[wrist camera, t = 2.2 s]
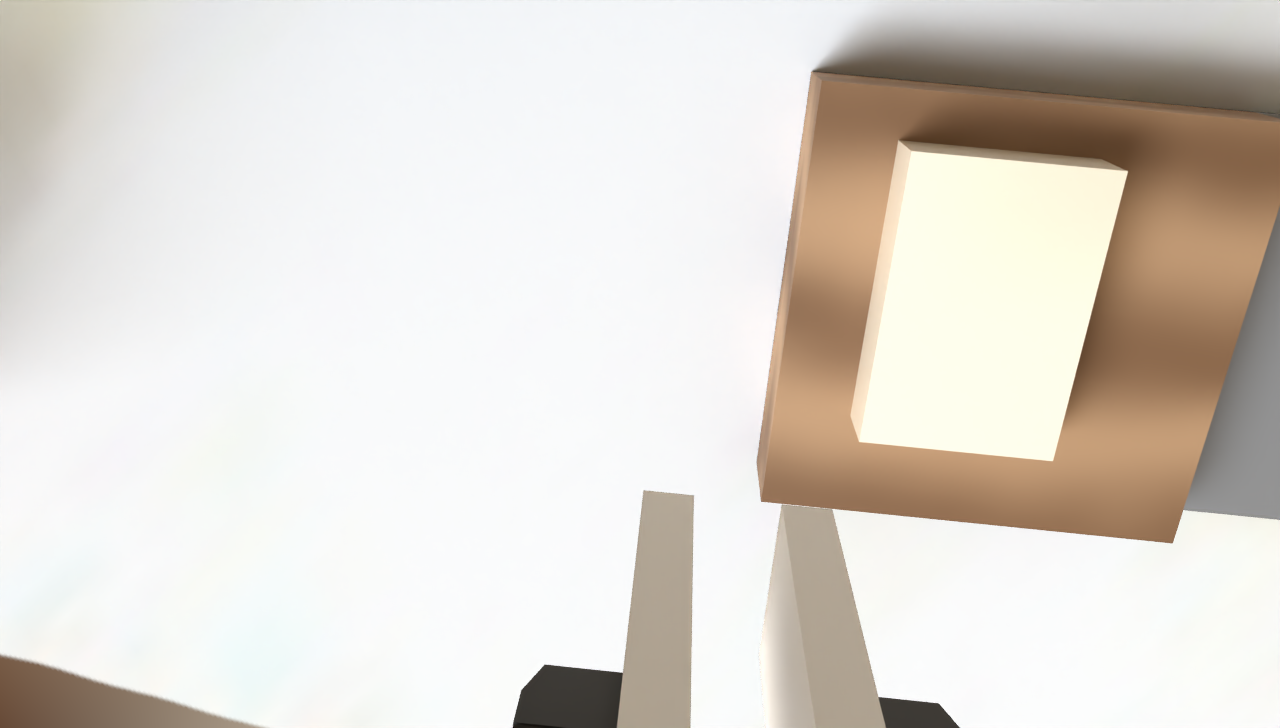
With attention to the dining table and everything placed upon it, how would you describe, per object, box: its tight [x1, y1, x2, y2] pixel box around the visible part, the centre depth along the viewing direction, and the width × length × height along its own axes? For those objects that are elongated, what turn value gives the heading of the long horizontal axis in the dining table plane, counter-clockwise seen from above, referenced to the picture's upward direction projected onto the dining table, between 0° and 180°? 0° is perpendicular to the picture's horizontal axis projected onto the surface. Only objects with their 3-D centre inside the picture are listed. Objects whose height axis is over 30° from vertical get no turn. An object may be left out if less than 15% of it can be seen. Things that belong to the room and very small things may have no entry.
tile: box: [850, 140, 1128, 461], centre depth 31 cm, size 9×6×2 cm, turn 175°
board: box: [757, 72, 1280, 543], centre depth 33 cm, size 14×14×3 cm
